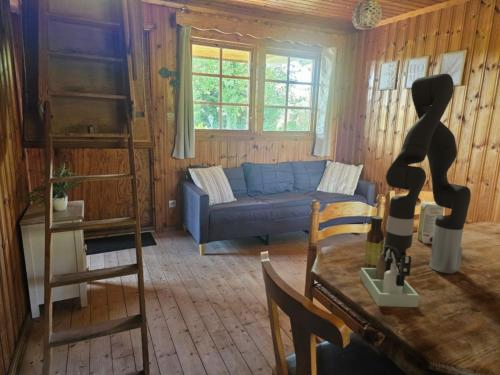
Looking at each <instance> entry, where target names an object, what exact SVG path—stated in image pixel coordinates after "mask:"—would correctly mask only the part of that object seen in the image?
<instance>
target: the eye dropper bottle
mask: <svg viewBox="0 0 500 375" xmlns="http://www.w3.org/2000/svg"><path fill="white" fill-rule="evenodd" d="M396 277H397V270H396V267H394V262H393V263H391V269H390V270H388V271H386V272H385V274H384V281H383V290H382V293H402V288H403V286H397V285H396Z"/></svg>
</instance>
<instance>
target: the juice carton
mask: <svg viewBox="0 0 500 375" xmlns="http://www.w3.org/2000/svg"><path fill="white" fill-rule="evenodd" d="M444 210H445V207H441V206H439V205H437V204H436V203H435V201H424V200H423V201H421V205H420V209H419V217H418V226H417V232H416V233H417V234H416V238H417V240H418V241H419V242H421V243H422V244H431V245H432V242H433V234H434V227H435V220H436V218H437V217H438V216H443V215H444Z"/></svg>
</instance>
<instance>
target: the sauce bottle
mask: <svg viewBox="0 0 500 375" xmlns="http://www.w3.org/2000/svg"><path fill="white" fill-rule="evenodd" d="M370 218H371V221H370V222H371V226H370V229H369V230H368V232H367V235H366V244H365V256H364V266H365V268H376V267H377V257H378V256H380V253H381V252H384V245H385V237H384V233H383V230H382V227H383V226H382V225H383V220H384V219H383V217H381V216H378V215H374V216H371V217H370Z"/></svg>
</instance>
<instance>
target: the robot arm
mask: <svg viewBox="0 0 500 375" xmlns="http://www.w3.org/2000/svg"><path fill="white" fill-rule="evenodd" d="M454 84H455V83H454V79H453V77H452V76H451V75H450V74H449V73H438V74H433V75H428V76H427V75H426V76H422V77H417V78H416V79H414V80H413V81H412V84H411V89H410V92H411V100H412V103H413V106H414V109H415V112H416V115H417V119H418V120H417V121H416V122H415V123H414V124H413V125H412V126H411V128H409V130H408V132H407V134H406V135H405V137H404V138H405V139H404V141H403V143H402V147H401V150H400V152H399V153H398V155H397V156H396V158H395V159H394V160H393V162H392V163H391V165H390V166H389V167H388V169H387V171H386V174H385V181H386V184H387V185H388V186H389V187H390V188H394V189H400V190H408V193H407V194H406V195H394V196H392V197H391V198H390V200H389V210H388V217H387V221H386V226H385V227H386V228H385V237H384V246H383V257H385V261H386V266H385V272H386V271H388V270H390V269H391V263H394V267H396V270H397V277H396V285H397V286H404V281H406V280H405V278H406V277H410V275H411V267H412V256H410V255H407V250H408V249H410V248H412V244H413V236H414V227H415V215H416V214H415V212H416V206H417V201H418V199H419V196H420V194H421V192H422V190H423V187H424V185H425V184H426V183H425V182H426V181H427V173H426V171H425V170H424V168H423V167H421V166H413V165H414V164H421V163H422V162H424V161H425V159H426V157H427V160H428V165H429V172H430V176H431V187H432V195H433V200H434V201H433V202H435V203H436V204H437V205H439V206H441V207H444V209H445V208H446V209H449V210H451V211H450V214H446V215H444V214H443V216H438V217H437V218H436V220H435V227H434V234H433V242H432V244H431V250H430V256H429V257H430V258H429V268H431V269H432V270H434V271H436V272H439V273H443V274H455V273H459V272H460V268H461V261H462V256H463V250H464V249H463V247H461V244H462V237H463V234H464V233H463V232H464V225H465V223H466V220H467V216H468V212H469V207H470V203H471V195H472V194H471V189H470V188H469V187H468V186H466V185H461V184H455V183H450V182H449V181H448V171H449V169H450V168H451V167H452V165H453V164H454V162H455V160H456V158H457V157H458V149H457V143H456V137H455V134H454V133H453V132H452V131H451V130H450V128H449V127H447V126H446V124H444V123H443V122H442V121H441V119H442V118H443V115H444V114H445V112H446V110H447V108H448V106H449V104H450V102H451V100H452V97H453V94H454V90H455V86H454ZM411 165H412V166H411ZM386 252H387V253H386Z"/></svg>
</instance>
